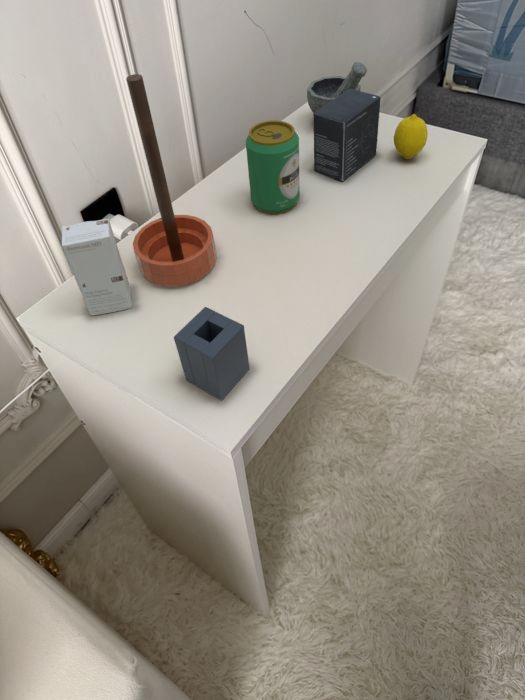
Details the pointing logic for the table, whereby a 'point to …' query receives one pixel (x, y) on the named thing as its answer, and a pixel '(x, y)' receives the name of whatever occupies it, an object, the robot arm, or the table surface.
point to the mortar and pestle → (334, 87)
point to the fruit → (410, 136)
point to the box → (346, 133)
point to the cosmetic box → (97, 266)
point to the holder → (213, 352)
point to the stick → (154, 163)
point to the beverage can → (273, 166)
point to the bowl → (158, 259)
